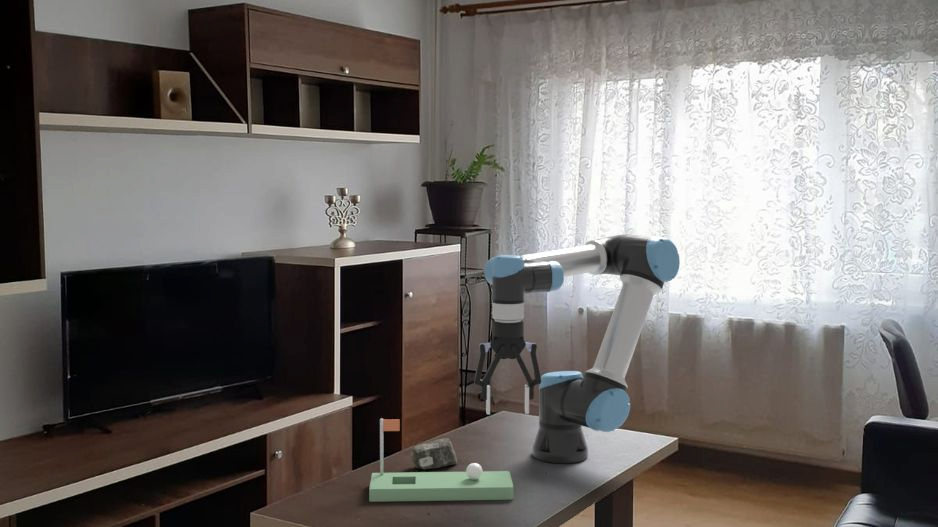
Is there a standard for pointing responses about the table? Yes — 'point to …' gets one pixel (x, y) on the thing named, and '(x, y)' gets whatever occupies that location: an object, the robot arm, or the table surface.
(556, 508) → the table surface
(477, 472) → the ball
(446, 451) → the stone
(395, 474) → the green
